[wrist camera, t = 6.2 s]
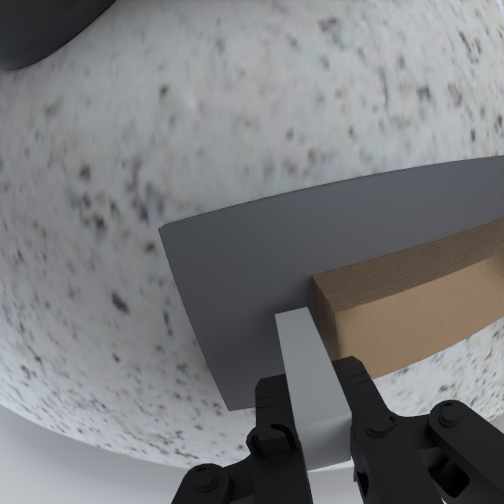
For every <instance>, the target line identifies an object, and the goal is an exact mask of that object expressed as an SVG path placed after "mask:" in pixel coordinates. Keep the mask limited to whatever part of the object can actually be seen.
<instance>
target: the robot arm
mask: <svg viewBox="0 0 504 504" xmlns="http://www.w3.org/2000/svg"><path fill="white" fill-rule="evenodd" d="M113 1H114V0H0V67H2V68H5V69H17V68H21V67H24V66H27V65H30V64H32V63H34V62H36V61H38V60H40V59H41V58H43V57H45V56H47V55H48V54H50V53H51V52H53V51H54V50H56V49H57V48H59V47H60V46H61V45H63V44H64V43H65V42H67V41H68V40H69V39H71V38H72V37H73V36H75V35H76V34H77V33H78V32H80V31H81V30H82V29H83V28H84V27H86V26H87V25H88V24H89V23H90V22H91V21H92V20H94V19H95V18H96V17H97V16H98V15H99V14H100V13H101V12H102V11H104V10H105V9H106V8H107V7H108V6H109V5H110V4H111V3H112V2H113ZM275 318H276V323H277V329H278V334H279V339H280V345H281V350H282V355H283V361H284V366H285V371H286V374H281V375H276V376H271V377H266V378H261V379H260V380H259V382H258V384H257V385H256V387H255V408H256V427H255V428H253V429H252V430H251V432H250V433H249V434H248V436H247V440H246V444H247V446H248V448H249V450H250V452H251V454H250V455H249V456H248V457H247V458H245V459H244V460H242V461H240V462H237V463H235V464H232V465H229V466H226V467H223V468H222V467H221V466H219V465H216V464H213V463H209V464H201V465H197V466H195V467H193V468H192V469H190V470H189V471H188V472H187V474H186V475H185V476H184V478H183V480H182V482H181V484H180V487H179V488H178V491H177V493H176V495H175V497H174V499H173V501H172V503H171V504H313V499H312V494H311V489H310V484H309V479H308V474H307V471H309V470H314V469H318V468H322V467H327V466H330V465H334V464H338V463H342V462H345V461H349V460H351V456H352V459H353V462H354V476H353V477H354V482H356V481H357V483H358V486H359V490H360V493H361V496H362V500H363V503H364V504H444V503H443V501H442V499H443V500H444V501H445V502H446V503H447V504H504V434H503V433H502V432H500V431H499V430H498V429H497V428H495V427H494V426H493V425H491V424H490V423H489V422H488V421H486V420H485V419H484V418H482V417H481V416H480V415H478V414H477V413H476V412H474V411H473V410H472V409H471V408H469V407H468V406H467V405H465V404H464V403H462V402H460V401H458V400H446V401H442V402H440V403H438V404H437V405H435V406H434V408H433V409H432V410H431V411H430V414H426V415H420V416H413V417H403V416H399V415H397V414H395V413H393V412H391V411H390V410H389V409H388V408H387V406H386V404H385V403H384V401H383V399H382V397H381V395H380V393H379V392H378V390H377V388H376V386H375V384H374V382H373V381H372V380H371V377H370V375H369V373H367V370H366V368H365V366H364V365H363V363H362V361H360V360H358V359H357V358H355V357H354V356H349V357H345V358H342V359H338V360H335V361H330V359H329V357H328V354H327V352H326V349H325V347H324V345H323V342H322V340H321V338H320V335H319V333H318V331H317V328H316V326H315V324H314V321H313V319H312V317H311V314H310V312H309V310H308V308H307V307H304V308H300V309H296V310H292V311H288V312H283V313H279V314H275ZM441 498H442V499H441Z"/></svg>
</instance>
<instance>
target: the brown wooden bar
mask: <svg viewBox="0 0 504 504" xmlns="http://www.w3.org/2000/svg"><path fill="white" fill-rule="evenodd" d="M312 279H313V285H314V290H315V296H316V302H317V308H318V314H319V320H320V326H321V332H322V339H323V343H324V345H325V347H326V350H327V352H328V354H329V357H330V359H331V361H335V360H338V359H342V358H345V357H349V356H354V357H355V358H357V359H358V360H360V361H362V363H363V365H364V366H365V368H366V370H367V373H369V375H370V377H371V380H372V379H375V378H378V377H381V376H383V375H386V374H389V373H391V372H394V371H397V370H399V369H402V368H404V367H406V366H409V365H411V364H414V363H416V362H418V361H421V360H423V359H425V358H427V357H429V356H432V355H434V354H436V353H438V352H440V351H442V350H444V349H446V348H448V347H450V346H452V345H454V344H456V343H458V342H460V341H462V340H464V339H466V338H467V337H469V336H471V335H473V334H475V333H476V332H478V331H480V330H482V329H483V328H485V327H487V326H488V325H490V324H492V323H493V322H495V321H497V320H498V319H500V318H501V317H503V316H504V217H503V218H500V219H497V220H494V221H491V222H488V223H486V224H483V225H480V226H477V227H474V228H471V229H468V230H465V231H462V232H458V233H455V234H452V235H449V236H446V237H443V238H440V239H436V240H433V241H430V242H427V243H423V244H420V245H417V246H414V247H410V248H407V249H404V250H400V251H397V252H393V253H390V254H387V255H383V256H380V257H376V258H373V259H369V260H365V261H362V262H358V263H355V264H351V265H347V266H344V267H340V268H336V269H332V270H329V271H325V272H321V273H317V274H313V275H312Z"/></svg>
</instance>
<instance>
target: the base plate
mask: <svg viewBox="0 0 504 504" xmlns="http://www.w3.org/2000/svg"><path fill="white" fill-rule="evenodd" d="M503 217H504V156H494V157H485V158H477V159H469V160H461V161H453V162H446V163H439V164H433V165H426V166H420V167H414V168H407V169H402V170H396V171H390V172H384V173H379V174H374V175H368V176H363V177H358V178H353V179H348V180H343V181H338V182H333V183H328V184H323V185H319V186H314V187H310V188H305V189H301V190H296V191H292V192H287V193H283V194H279V195H275V196H271V197H266V198H262V199H258V200H254V201H250V202H246V203H242V204H238V205H234V206H231V207H227V208H223V209H219V210H215V211H212V212H208V213H204V214H201V215H197V216H193V217H190V218H186V219H183V220H179V221H176V222H172V223H169V224H165V225H164V226H162V227H161V228H159V229H158V230H159V233H160V236H161V240H162V243H163V246H164V249H165V252H166V255H167V258H168V261H169V264H170V267H171V270H172V273H173V276H174V279H175V282H176V285H177V287H178V290H179V293H180V296H181V299H182V301H183V304H184V307H185V309H186V312H187V315H188V317H189V320H190V322H191V325H192V328H193V330H194V333H195V335H196V338H197V340H198V343H199V345H200V347H201V350H202V352H203V355H204V357H205V359H206V362H207V364H208V366H209V369H210V371H211V373H212V376H213V378H214V380H215V382H216V385H217V387H218V389H219V391H220V393H221V396H222V398H223V400H224V402H225V404H226V406H227V408H228V410H229V411H233V410H240V409H246V408H252V407H255V387H256V385H257V384H258V382H259V380H260V379H261V378H266V377H271V376H276V375H281V374H286V371H285V366H284V361H283V355H282V350H281V345H280V339H279V334H278V329H277V323H276V318H275V314H279V313H283V312H288V311H292V310H296V309H300V308H304V307H307V308H308V310H309V312H310V314H311V317H312V319H313V321H314V324H315V326H316V328H317V331H318V333H319V335H320V338H321V340H322V342H323V339H322V332H321V326H320V320H319V314H318V308H317V302H316V296H315V290H314V285H313V279H312V275H313V274H317V273H321V272H325V271H329V270H332V269H336V268H340V267H344V266H347V265H351V264H355V263H358V262H362V261H365V260H369V259H373V258H376V257H380V256H383V255H387V254H390V253H393V252H397V251H400V250H404V249H407V248H410V247H414V246H417V245H420V244H423V243H427V242H430V241H433V240H436V239H440V238H443V237H446V236H449V235H452V234H455V233H458V232H462V231H465V230H468V229H471V228H474V227H477V226H480V225H483V224H486V223H488V222H491V221H494V220H497V219H500V218H503ZM323 345H324V343H323ZM324 347H325V345H324ZM325 349H326V347H325ZM326 352H327V350H326ZM327 354H328V352H327ZM328 357H329V354H328ZM329 359H330V357H329ZM330 361H331V359H330Z"/></svg>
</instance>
